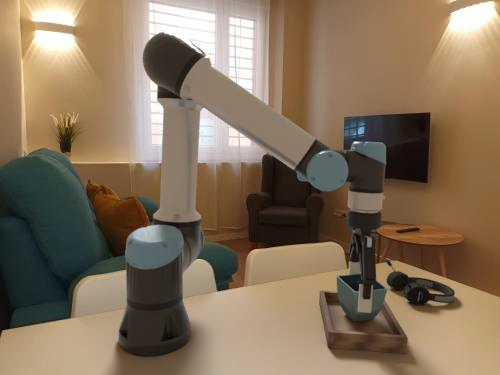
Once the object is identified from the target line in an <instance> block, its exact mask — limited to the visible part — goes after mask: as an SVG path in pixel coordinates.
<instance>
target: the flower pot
mask: <svg viewBox="0 0 500 375" xmlns="http://www.w3.org/2000/svg"><path fill="white" fill-rule="evenodd" d="M367 279H370V278H367ZM358 280H361V273H360V274H350V275H349V274H341V275H336V291H337V295H338V300H339V303H340V305H341V307H342V309H343V311H344V312H345V313H346V314H347V316H348V317H349V318H350V319H351V320H352V321H354V322H358V321H366V320H372V319H373V318H374V317H376V316H377V314H378V313H379V312H380V310H381V308H382V306H383V303H384V300H385V299H386V296H387V293H388V287H386V286H385V285H384V284H382V282H379V281H378V280H377V279H376V281H377V283H376V285H373V294H372V308H371V313H366V312H358V299H359V284H358ZM385 301H386V300H385Z"/></svg>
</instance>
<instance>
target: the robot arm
mask: <svg viewBox="0 0 500 375" xmlns="http://www.w3.org/2000/svg"><path fill="white" fill-rule="evenodd" d="M142 66H143V69H144V71H145V73H146V75H147V77H148V78H149V80H150V81H152V82H153V83H154V84H155V85H156V86H157V88H156V89H157V92H156V100H157V102H158V103H159V104H160V105H161V107H162V108H163V114H162V115H163V116H162V137H161V138H162V140H161V142H162V143H161V168H160V169H161V172H160V174H161V175H160V191H159V192H160V194H159V197H160V199H159V208H158V210H157V211H156V212H155V213H154V212H153V214H152V224H151V225H147V226H146V227H141V228H137V229H135V230H134V231H132V232H131V233H130V234H129V235H128V236H127V238H126V243H125V250H124V255H125V256H124V258H125V277H126V278H125V280H126V282H125V283H126V284H125V286H126V288H125V289H126V307H125V310H124V312H123V316H122V319H121V321H120V325H119V328H118V344H119V346H120V347H121V350H123V351H125V352H126V353H129V354H132V355H136V356H145V357H148V356H149V357H150V356H154V357H155V356H159V355H165V354H168V353H172V352H174V351H176V350H179V349H180V348H182V347H184V346H185V345H186V344H187V343H188V342H189V340H190V338H191V334H192V332H191V329H192V327H191V326H192V323H191V320H190V317H189V314H188V313H187V312H188V311H187V309H186V306H185V304H184V300H183V298H184V296H183V295H184V291H183V290H184V288H183V286H184V273H185V272H186V270H188V268H189V267H190V266H191V265H192V264H193V263H194V262H195V261H197V259H198V258H199V257H200V255H201V253H202V251H203V249H204V246H205V234H204V230H203V229H202V226H201V223H202V215H201V214H200V213H199V212H198V211H197V209H196V205H197V204H196V203H197V202H196V201H197V186H198V184H197V183H198V182H197V180H198V168H199V167H198V162H199V142H200V126H201V125H200V124H201V111H202V110H203V109H205V110H207V111H208V112H210V113H211V114H212V115H214V116H215V117H216V118H218V119H220V120H221V121H222V122H224V123H225V124H227V125H228V126H230V127H231V128H233V130H236V131H237V132H238V133H239V134H241V135H242V136H244V137H245V138H247V139H248V140H250V141H251V142H252V143H254V144H255V145H257V146H258V147H260V148H261V149H263V150H264V151H266V152H267V153H268V154H270V155H271V156H273V157H274V158H275V159H276V160H278V161H280V162H282V163H283V164H284V165H286V166H287V167H288V168H290V169H291V170H293V171H294V172H295V173H296V177H297V178H296V179H298V180H299V181H300V182H301V181H302V182H308V183H309V184H310V185H311V186H312V187H314V188H316V189H317V190H319V191H323V192H333V191H336V190H338V189H340V188H341V187H342V186H344V184H349V187H348V198H347V207H348V208H349V209H348V210H347V214H346V217H347V218H346V225H347V226H348V227H349V228H351V236H350V241H349V247H348V253H347V255H348V260H349V261H348V262H349V263H348V275H350V274H361V280H358V284H359V299H358V312H366V313H371V308H372V294H373V285H376V283H377V281H378V280H377V265H376V264H377V262H376V241H377V240H376V237H374V236H372V231H373V230H375V231H376V230H379V229H380V228H381V227H382V219H383V218H382V217H383V213H382V212H381V210H382V209H383V201H385V200H386V196H385V195H384V188H385V176H386V165H387V147H386V144H385V143H384V142H380V141H377V142H376V141H353V142H352V143H351V147H350V149H332V148H330V147H329V146H327V145H326V144H324V142H322V141H320V140H318V139H317V138H316V137H314V136H313V135H312V134H310V133H309V132H307V131H306V130H304V128H301V127H300V126H299V125H297V124H296V123H294V122H293V121H291V120H290V119H289V118H288V117H286V116H284V115H283V114H281V113H280V112H279V111H277V110H276V109H274V108H273V107H271V106H270V105H269V104H267V103H266V102H264V101H263V100H261V99H260V98H259V97H257V96H256V95H254V94H252V93H251V92H250V91H248V90H247V89H245V88H244V87H243V86H241V85H240V84H238V83H237V82H235V81H234V80H232V79H231V78H230V77H228V76H227V75H226V74H224V73H223V72H221V71H219V69H217V68H215V67H214V66H212V61H211V59H210V57H209V56H208V55H207V54H206V53H205V52H204V51H203V50H202V49H201V48H200V47H198V46H197V45H195V44H194V42H192V41H191V40H190V38H188V37H187V36H185V34H181V33H180V32H177V31H173V30H172V31H171V30H168V31H166V30H165V31H162V32H158V33H156V34H155V35H153V36H152V37H151V38H150V39H148V41H147V42H146V44H145V46H144V48H143V52H142ZM367 278H370V279H367ZM376 280H377V281H376Z"/></svg>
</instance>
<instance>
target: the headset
mask: <svg viewBox="0 0 500 375" xmlns="http://www.w3.org/2000/svg"><path fill="white" fill-rule="evenodd" d="M386 264H387V266H389V267H391V268H392V270H393V271H392V272H390V273H389V274H388V275H387V277H386V284H387V285H388V286H389V287H390V288H391V289H393V290H394V291H396V292H402V291H403V297H404V298H405V299H406V300H407V301H408V302H409V303H411V305H414V306H415V305H416V306H425V305H426V304H428V302H434V303H435V302H436V303H440V304H450V303H453V302H454V298H455V293H456V292H455V290H454V289H453V288H451V287H450V286H449V285H447V284H444V283H442V282H440V281H437V280H433V279H428V278H423V277H417V276H414V277H413V276H410V277H409V276H408V275H407V274H406V273H404V272H402V271H399V270H395V268H394V267H393V264H392V262H391V261H390V260H386ZM427 288H429V289H432V290H435V291H438V292H440V293H442V294H440V293H434V292H433V293H432V292H430V291H429V290H428V289H427Z"/></svg>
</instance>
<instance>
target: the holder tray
mask: <svg viewBox="0 0 500 375" xmlns="http://www.w3.org/2000/svg"><path fill="white" fill-rule="evenodd" d="M318 296H319V299H318V301H319V302H318V305H319V311H320V315H321V319H322V325H323V330H324V334H325V340H326V346H327V348H329V349H340V350H353V351H366V352H367V351H368V352H377V353H378V352H379V353H388V354H389V353H391V354H403V355H404V354H405V355H406V354H407V352H408V342H409V337H408V336H407V334H406V332H405V331H404V330H403V327H402V326H401V324H400V322H399V321H398V319H397V318H396V316H395V315H394V312H393V311H392V309H391V308H390V306H389V305H388V303H387V302H386V300H384V303H383V306H382V308H381V310H380V312H379V313H378V314H377V316H376V317H374V318H373V319H372V320H366V321H358V322H354V321H352V320H351V319H350V318H349V317H348V316H347V314H346V313H345V312H344V311H343V309H342V307H341V305H340V303H339V300H338V295H337V290H336V291H335V290H321V289H320V290H319V295H318Z"/></svg>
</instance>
